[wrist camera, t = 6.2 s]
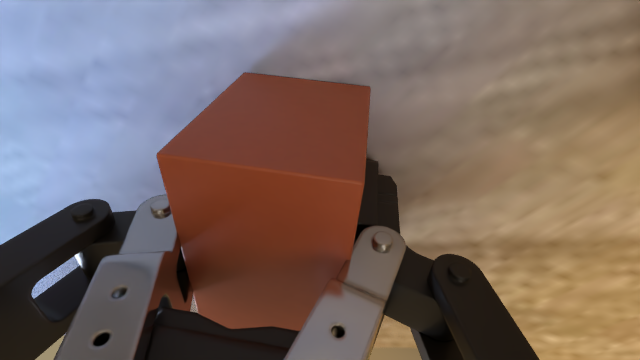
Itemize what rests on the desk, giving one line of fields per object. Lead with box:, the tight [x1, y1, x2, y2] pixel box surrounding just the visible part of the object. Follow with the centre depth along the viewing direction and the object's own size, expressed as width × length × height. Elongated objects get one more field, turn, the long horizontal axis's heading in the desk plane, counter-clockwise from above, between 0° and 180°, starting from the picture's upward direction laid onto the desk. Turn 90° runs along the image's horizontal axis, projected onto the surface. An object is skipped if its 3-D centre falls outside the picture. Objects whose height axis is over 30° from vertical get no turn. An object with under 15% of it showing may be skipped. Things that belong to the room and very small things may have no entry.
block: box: [157, 73, 371, 331], centre depth 11 cm, size 4×7×6 cm, turn 176°
